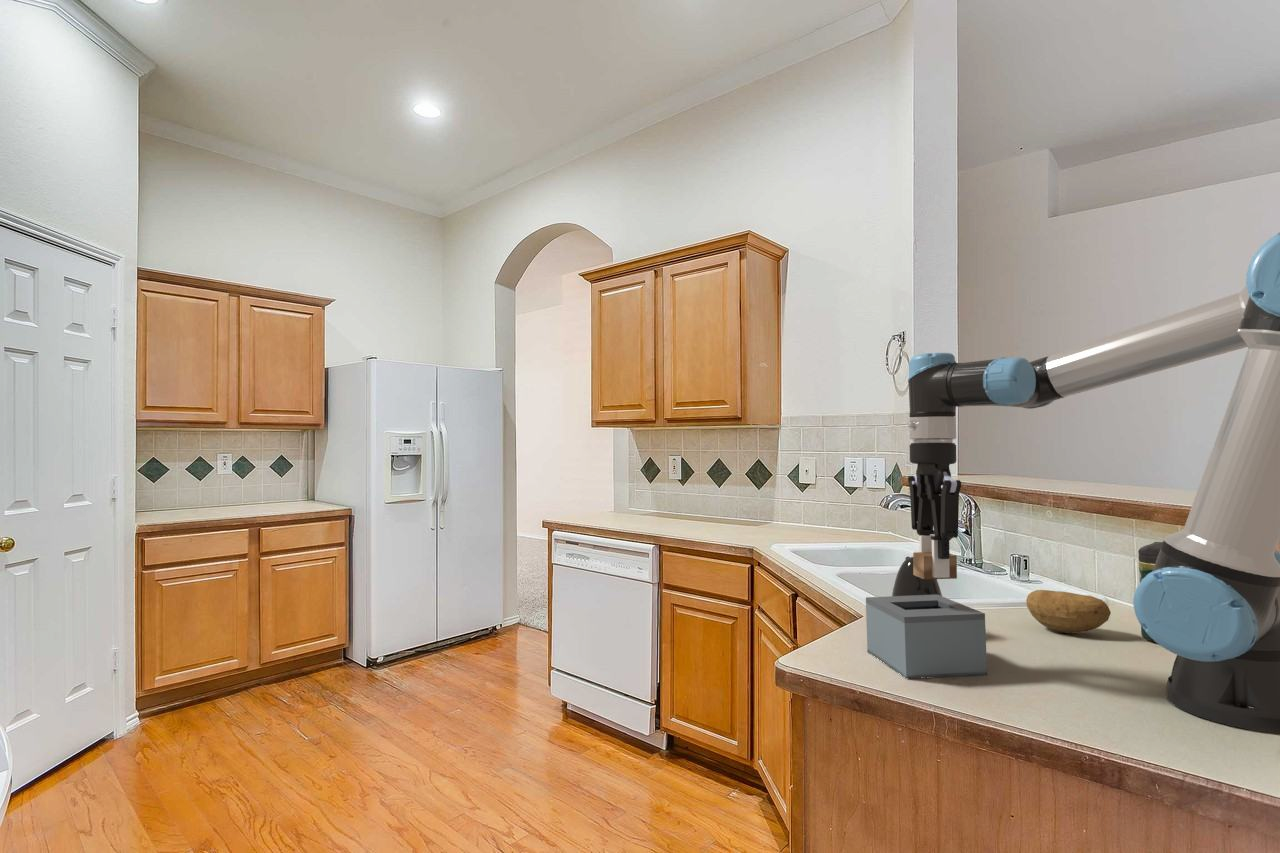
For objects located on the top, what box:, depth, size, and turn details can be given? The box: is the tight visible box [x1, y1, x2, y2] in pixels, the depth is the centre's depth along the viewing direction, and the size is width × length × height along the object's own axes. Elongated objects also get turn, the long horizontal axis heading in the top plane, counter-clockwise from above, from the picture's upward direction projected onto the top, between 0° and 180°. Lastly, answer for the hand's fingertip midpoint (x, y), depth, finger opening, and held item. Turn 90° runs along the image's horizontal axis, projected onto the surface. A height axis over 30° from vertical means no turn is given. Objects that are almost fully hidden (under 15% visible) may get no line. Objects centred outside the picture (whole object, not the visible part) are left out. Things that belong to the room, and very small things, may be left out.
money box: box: [865, 594, 988, 679], centre depth 111 cm, size 14×14×10 cm
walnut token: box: [912, 551, 958, 580], centre depth 111 cm, size 4×6×4 cm, turn 95°
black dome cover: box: [891, 556, 943, 597], centre depth 129 cm, size 10×10×15 cm
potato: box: [1025, 589, 1112, 634], centre depth 127 cm, size 10×14×8 cm
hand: (934, 574), depth 111 cm, fingers closed on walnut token, 3 cm apart
